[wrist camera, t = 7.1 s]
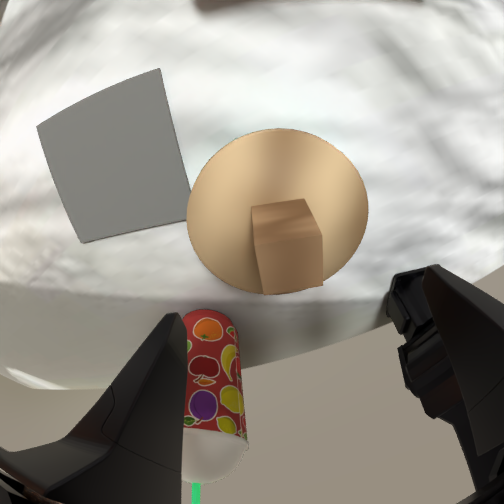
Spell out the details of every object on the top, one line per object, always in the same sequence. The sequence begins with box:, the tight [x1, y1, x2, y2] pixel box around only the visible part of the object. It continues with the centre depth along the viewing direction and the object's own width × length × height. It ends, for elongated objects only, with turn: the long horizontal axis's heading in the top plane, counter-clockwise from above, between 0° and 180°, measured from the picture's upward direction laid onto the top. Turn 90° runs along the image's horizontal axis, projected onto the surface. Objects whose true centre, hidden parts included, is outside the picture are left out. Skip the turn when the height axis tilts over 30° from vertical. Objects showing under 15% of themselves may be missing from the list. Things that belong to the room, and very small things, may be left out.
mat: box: [36, 68, 191, 243], centre depth 18 cm, size 12×12×1 cm
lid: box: [186, 128, 368, 295], centre depth 15 cm, size 11×11×5 cm
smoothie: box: [181, 310, 249, 504], centre depth 21 cm, size 8×8×20 cm
